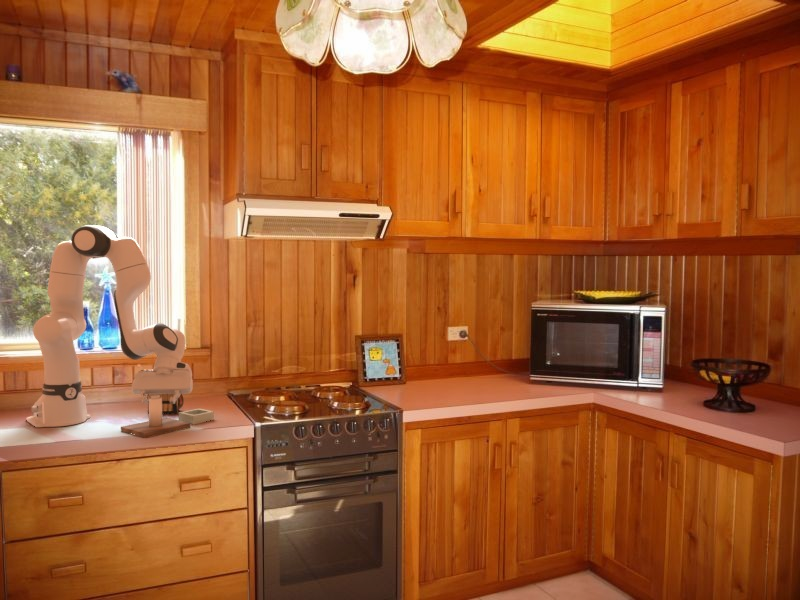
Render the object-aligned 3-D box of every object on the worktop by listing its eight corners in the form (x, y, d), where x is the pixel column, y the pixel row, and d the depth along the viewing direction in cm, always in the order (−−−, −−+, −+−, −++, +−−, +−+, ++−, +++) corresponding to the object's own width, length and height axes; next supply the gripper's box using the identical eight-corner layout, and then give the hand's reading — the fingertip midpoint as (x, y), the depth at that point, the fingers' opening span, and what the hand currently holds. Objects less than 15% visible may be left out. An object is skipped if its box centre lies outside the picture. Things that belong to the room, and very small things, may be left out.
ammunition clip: (178, 413, 243) (178, 381, 243) (177, 414, 242) (176, 382, 241) (149, 413, 242) (148, 381, 242) (147, 414, 241) (147, 382, 240)
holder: (178, 420, 230) (178, 412, 230) (199, 416, 237) (199, 408, 237) (193, 424, 225) (193, 415, 225) (214, 419, 232) (213, 411, 232)
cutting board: (121, 431, 216) (120, 426, 216) (166, 421, 230) (166, 417, 230) (144, 437, 208) (144, 433, 208) (190, 427, 221) (190, 423, 221)
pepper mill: (146, 425, 218) (146, 395, 218) (157, 422, 221) (157, 393, 221) (153, 427, 216) (153, 397, 215) (164, 424, 219) (164, 395, 218)
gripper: (134, 365, 227) (124, 398, 218) (193, 364, 228) (186, 397, 219) (139, 375, 232) (129, 408, 223) (196, 375, 233) (189, 407, 224)
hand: (158, 403), depth 221 cm, fingers open, 8 cm apart
